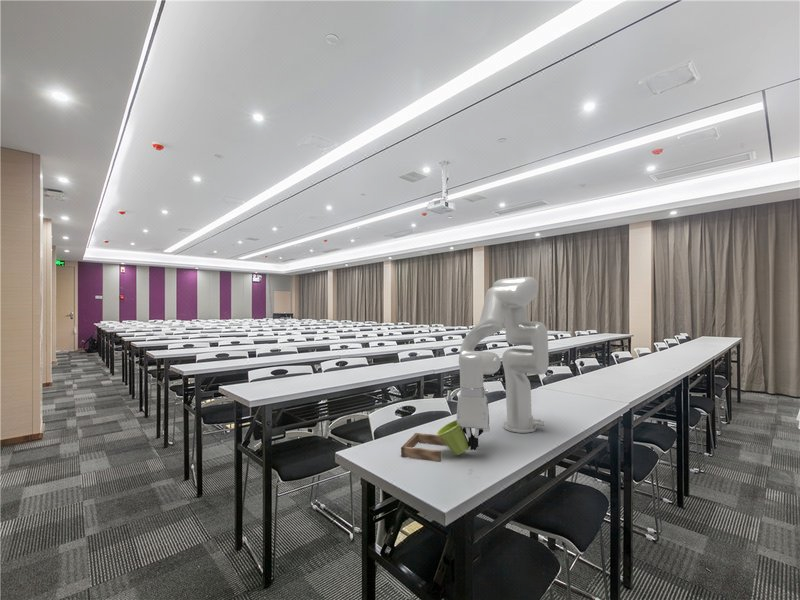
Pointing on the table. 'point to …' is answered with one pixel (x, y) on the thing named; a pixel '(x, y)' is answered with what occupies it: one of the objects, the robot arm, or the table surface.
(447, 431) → the plant pot
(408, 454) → the dock
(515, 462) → the table surface
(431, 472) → the table surface
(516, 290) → the robot arm
